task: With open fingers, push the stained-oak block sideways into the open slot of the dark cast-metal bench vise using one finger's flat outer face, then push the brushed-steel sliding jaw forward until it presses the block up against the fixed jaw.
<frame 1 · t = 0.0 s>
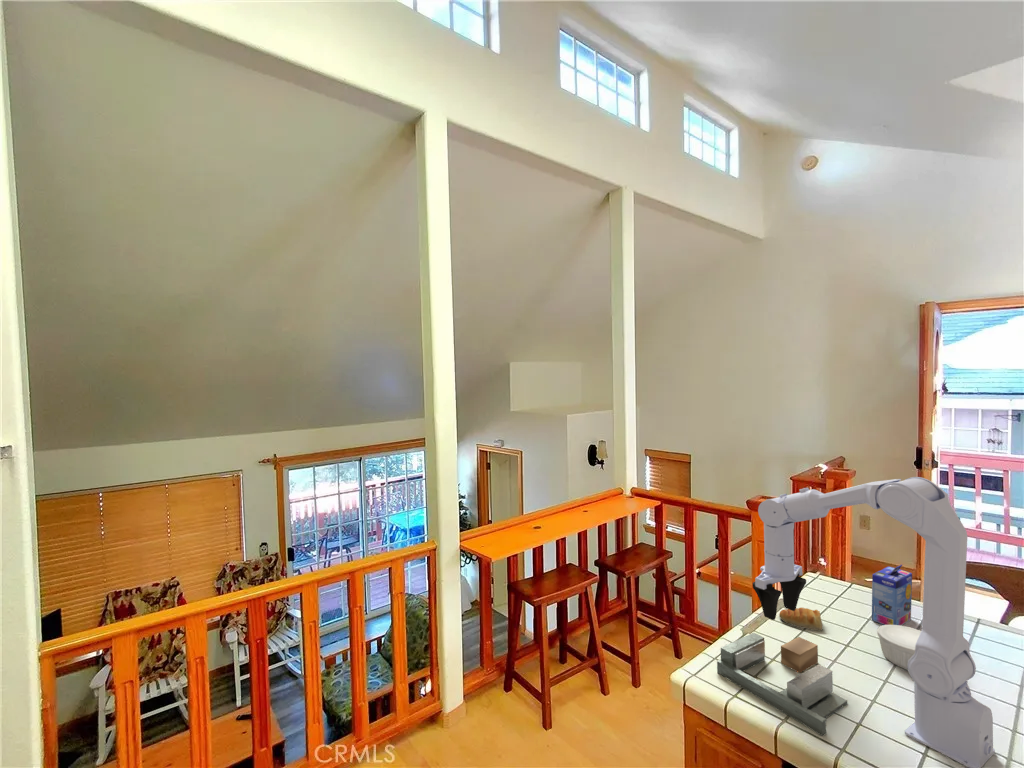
hand: (780, 613, 105), 10 cm above the counter, fingers open, 7 cm apart
vise body: (786, 688, 95), on the counter
jaw: (809, 686, 91), point 3 cm above the counter, slide at 0.0 cm
block: (799, 663, 104), on the counter
ink cartridge box: (892, 621, 121), on the counter
ramekin: (910, 662, 103), on the counter
pastry: (803, 624, 120), on the counter
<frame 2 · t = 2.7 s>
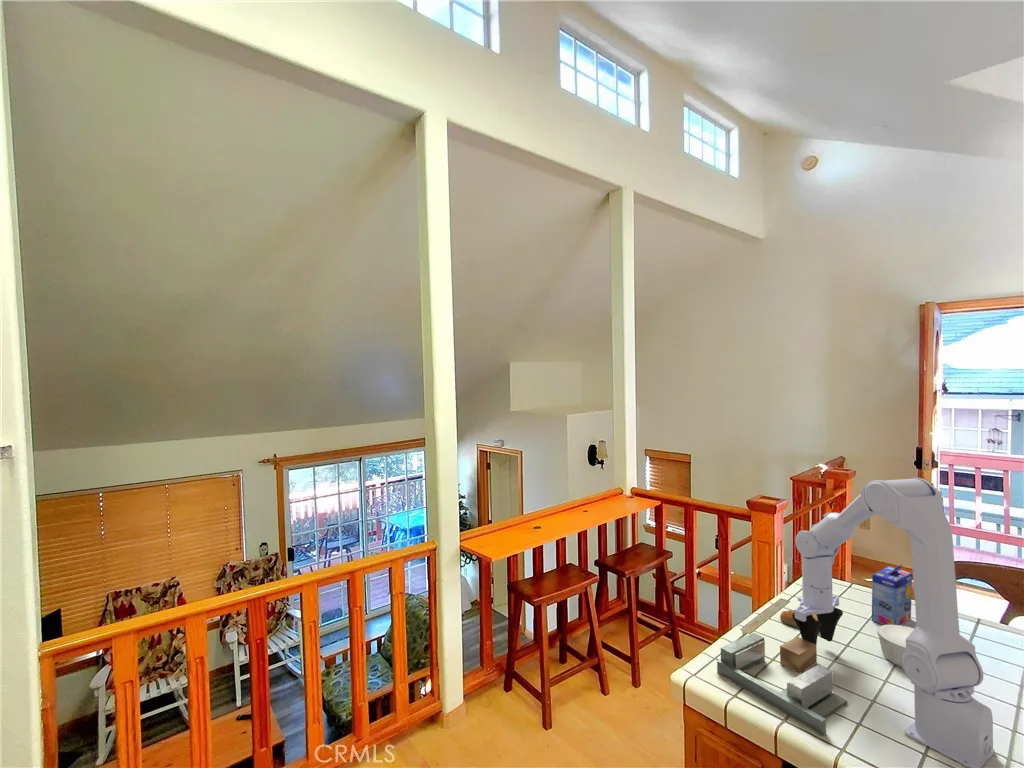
hand: (818, 643, 107), 2 cm above the counter, fingers open, 6 cm apart
block: (798, 663, 103), on the counter, touching gripper
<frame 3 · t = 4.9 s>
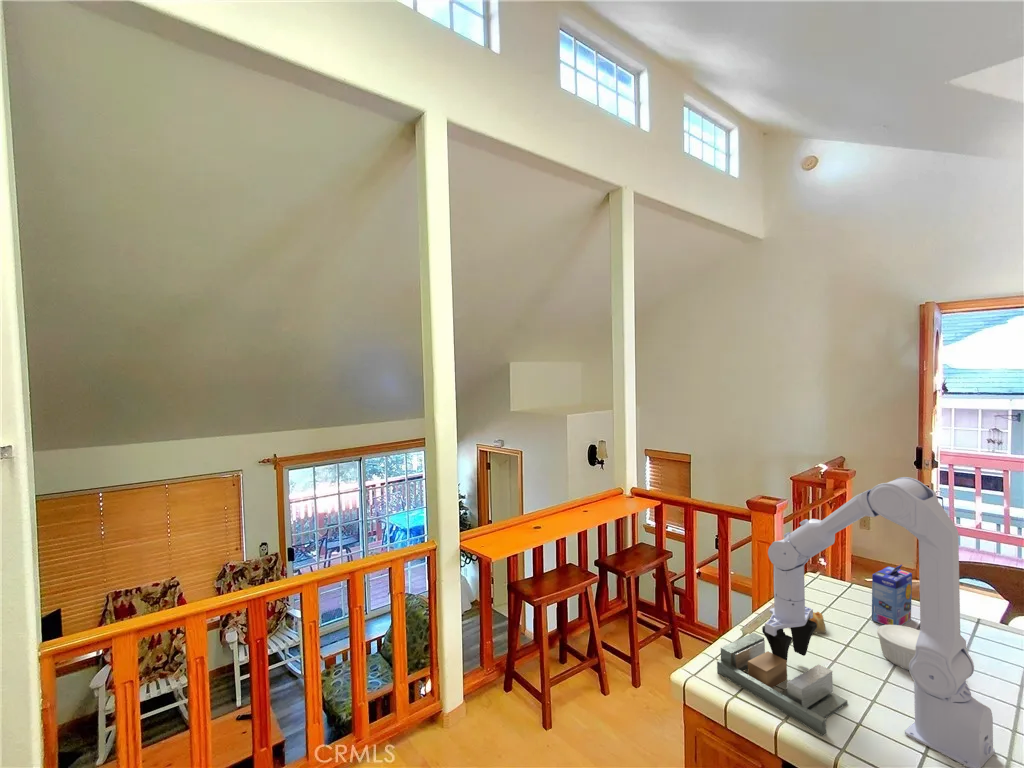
hand: (790, 658, 102), 2 cm above the counter, fingers open, 7 cm apart
block: (767, 680, 98), on the counter, touching gripper
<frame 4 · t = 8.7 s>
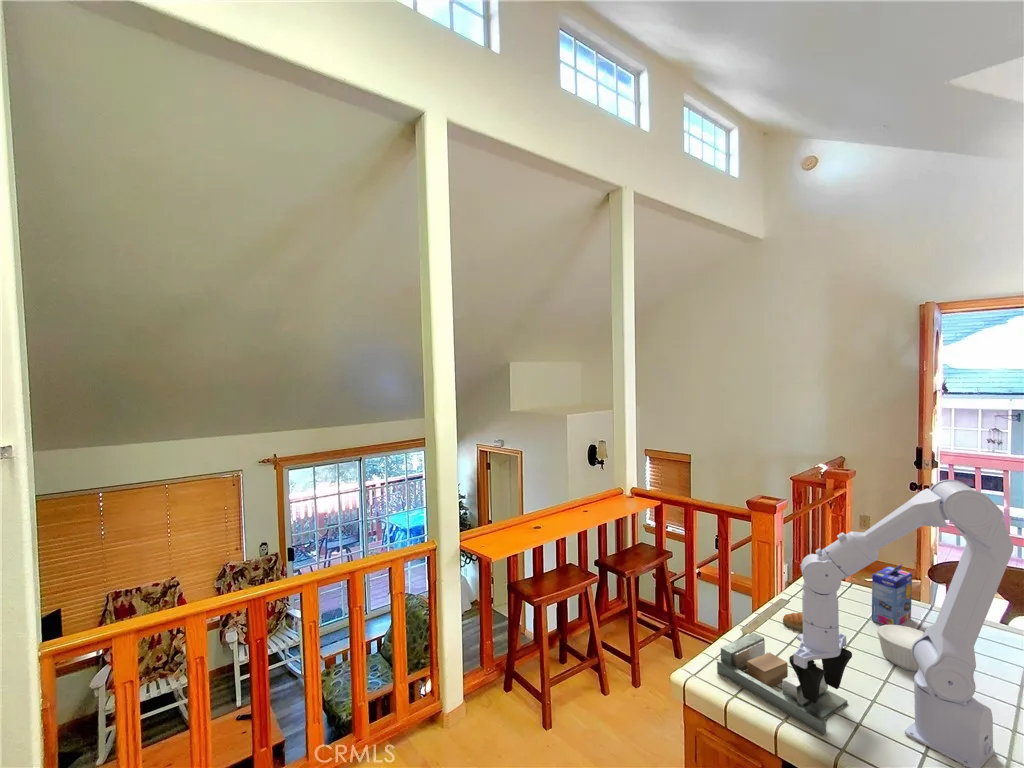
hand: (821, 692, 89), 3 cm above the counter, fingers open, 7 cm apart
jaw: (805, 683, 92), point 3 cm above the counter, slide at 0.9 cm, touching gripper
block: (767, 681, 98), on the counter
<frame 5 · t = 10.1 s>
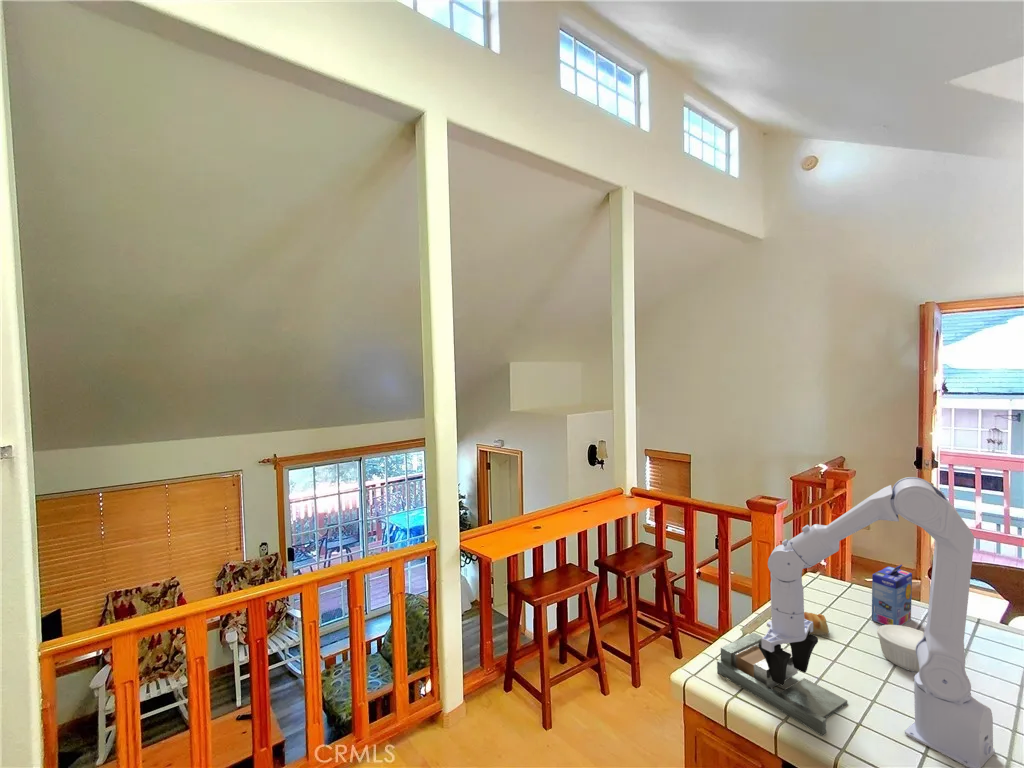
hand: (789, 676, 94), 3 cm above the counter
jaw: (775, 668, 97), point 3 cm above the counter, slide at 6.7 cm, touching block, gripper
block: (757, 675, 100), on the counter, touching jaw, vise body
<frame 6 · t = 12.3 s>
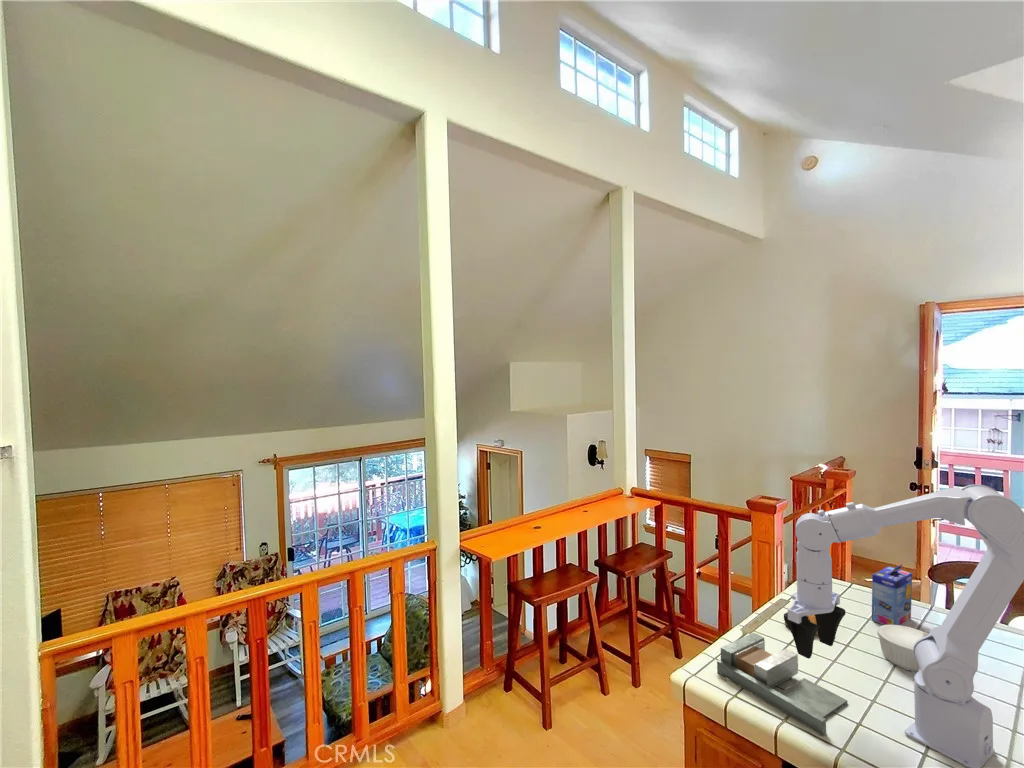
hand: (815, 649, 90), 10 cm above the counter, fingers open, 7 cm apart
jaw: (775, 668, 97), point 3 cm above the counter, slide at 6.7 cm
block: (757, 676, 99), on the counter
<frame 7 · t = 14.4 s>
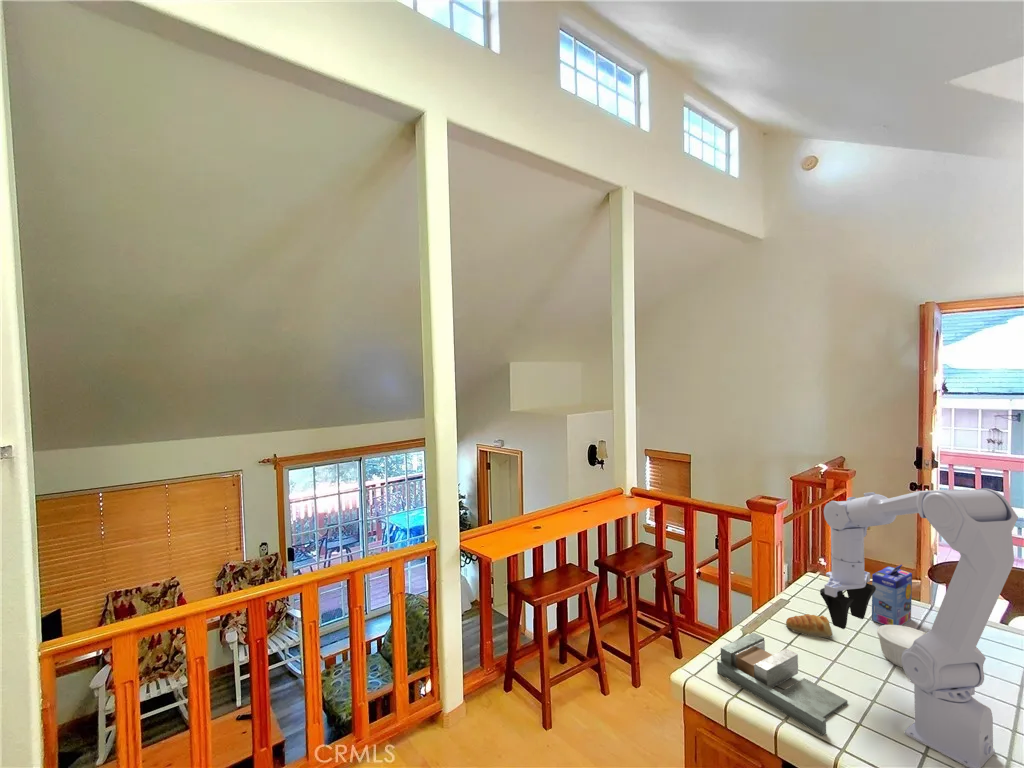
hand: (848, 621, 100), 10 cm above the counter, fingers open, 7 cm apart
at the end: block inside the target area (0.4 cm from its centre), on the counter; jaw slide at 6.6 cm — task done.
